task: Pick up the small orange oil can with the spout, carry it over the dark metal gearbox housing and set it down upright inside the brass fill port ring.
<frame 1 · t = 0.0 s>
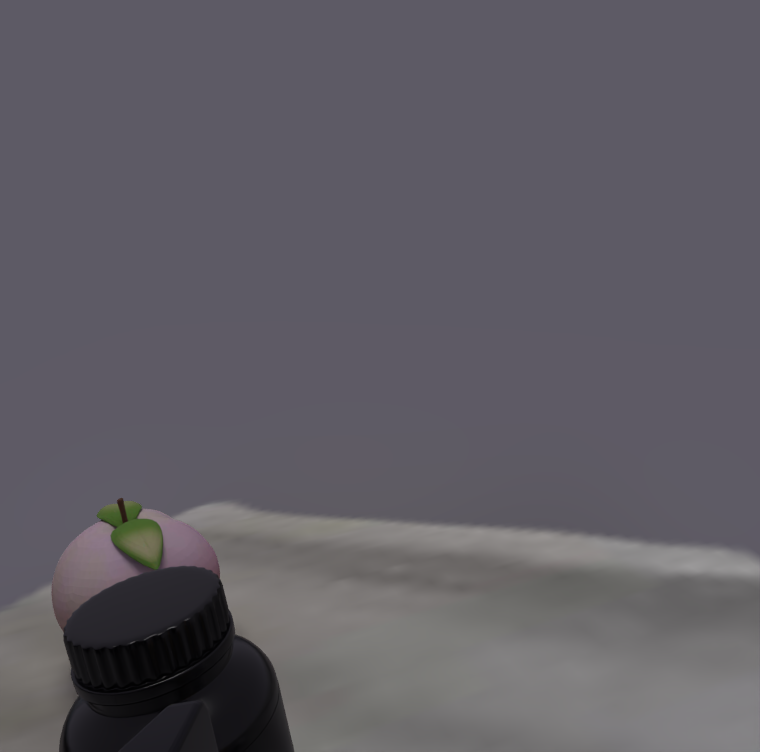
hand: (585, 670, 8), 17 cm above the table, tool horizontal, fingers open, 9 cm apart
decorative fruit: (156, 667, 40), on the table
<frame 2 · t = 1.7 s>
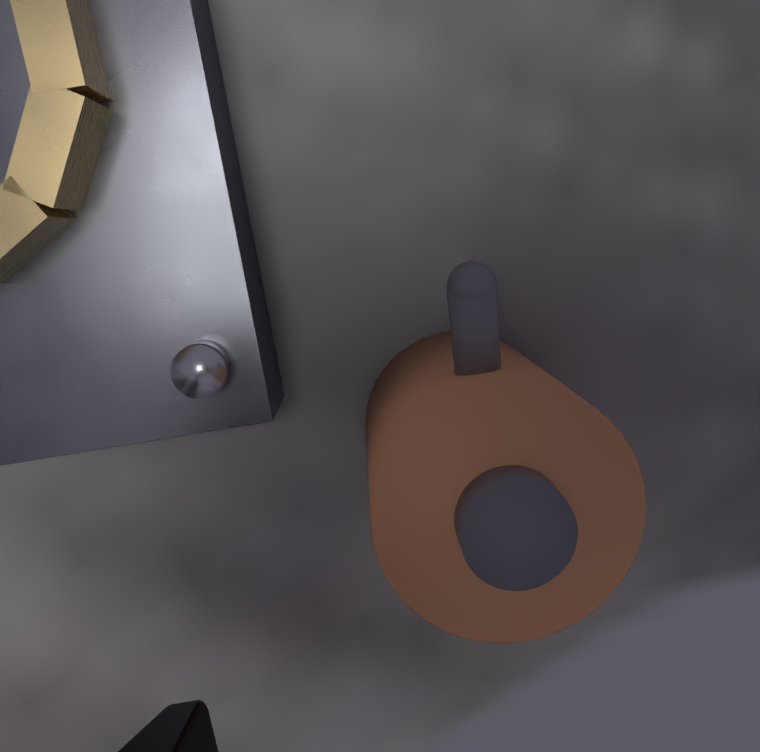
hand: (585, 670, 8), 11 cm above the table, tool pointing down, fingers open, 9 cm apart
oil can: (457, 422, 19), on the table
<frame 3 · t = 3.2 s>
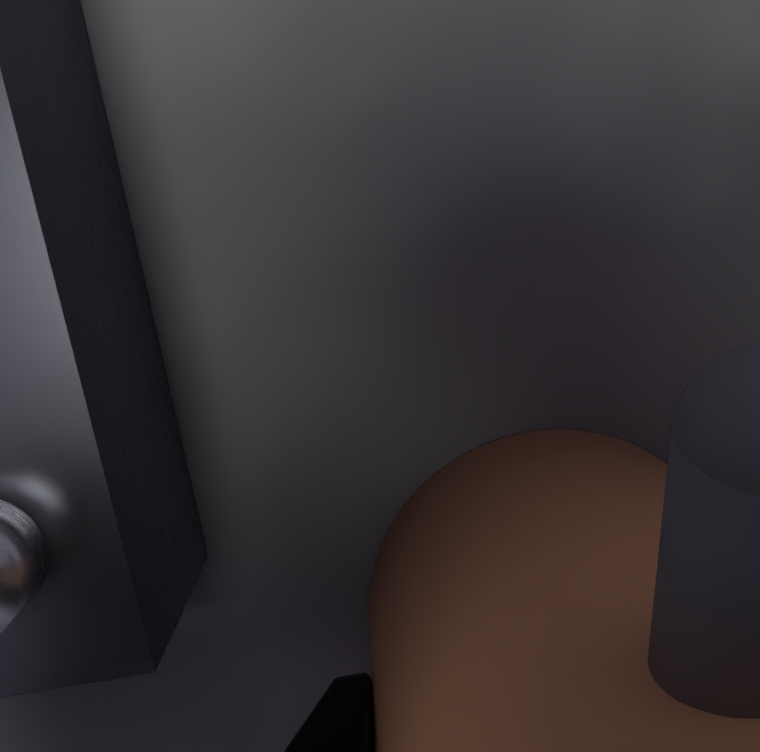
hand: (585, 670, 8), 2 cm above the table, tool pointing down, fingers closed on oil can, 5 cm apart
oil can: (548, 602, 10), on the table, touching gripper
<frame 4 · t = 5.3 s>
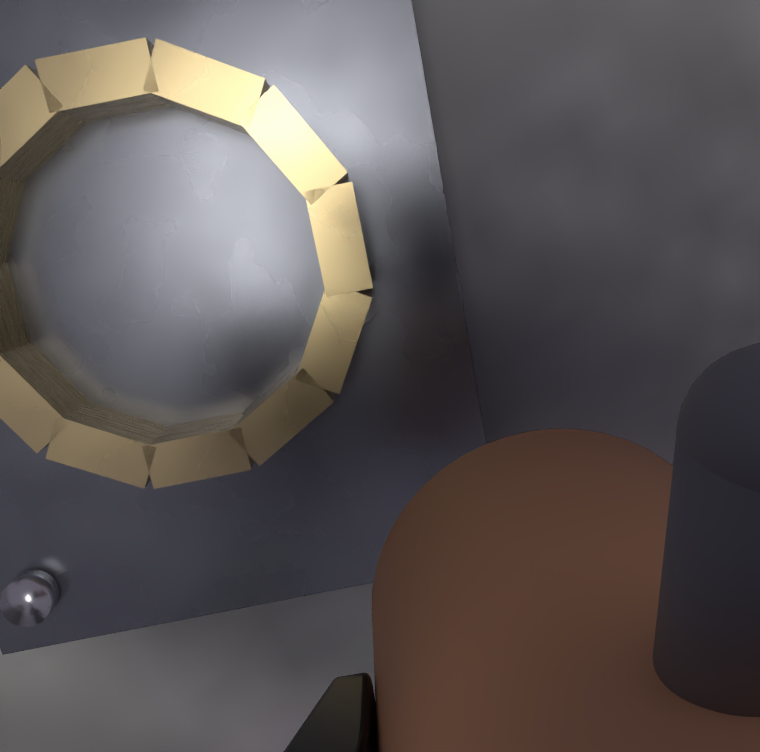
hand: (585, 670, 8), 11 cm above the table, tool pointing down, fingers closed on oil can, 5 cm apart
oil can: (551, 601, 10), point 10 cm above the table, touching gripper
gearbox housing: (193, 267, 18), on the table
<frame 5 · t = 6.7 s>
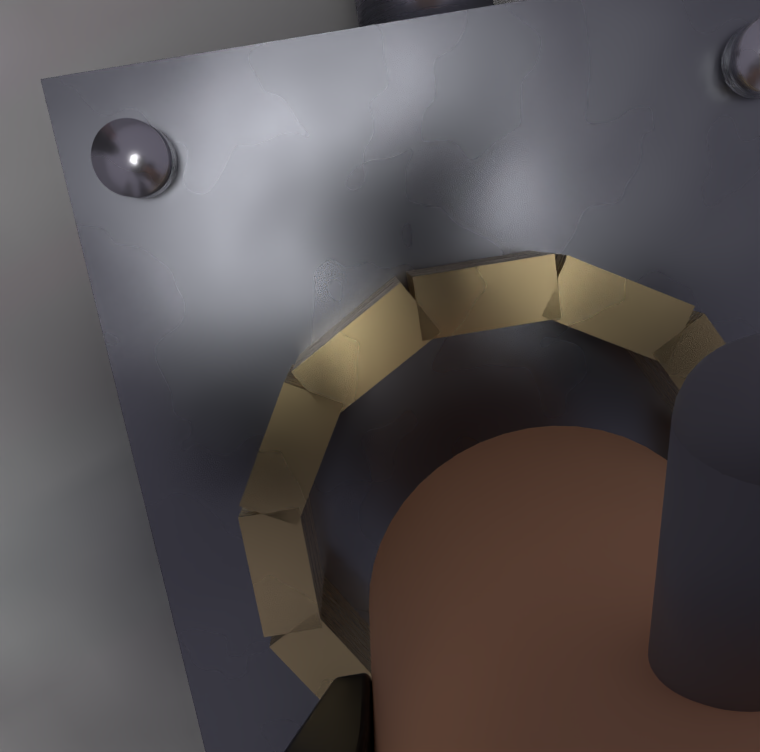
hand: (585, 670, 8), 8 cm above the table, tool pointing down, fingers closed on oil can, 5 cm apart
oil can: (548, 599, 10), point 6 cm above the table, touching gripper
gearbox housing: (477, 458, 16), on the table
when the fingers open (6 cm above the table, at t = 7.5 s): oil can drops 2 cm, resting on gearbox housing.
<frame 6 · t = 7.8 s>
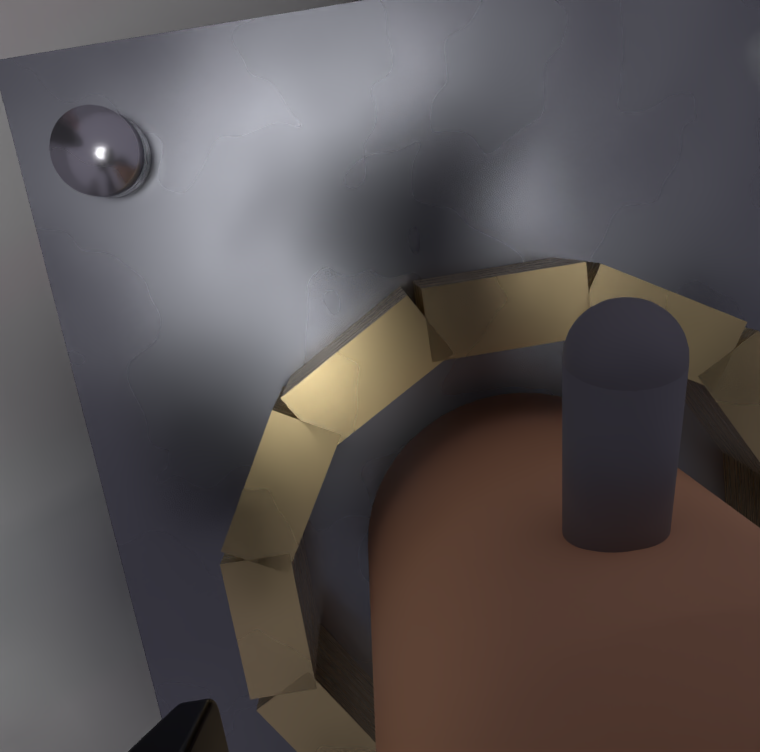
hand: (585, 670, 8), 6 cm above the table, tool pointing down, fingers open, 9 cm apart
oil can: (518, 539, 12), point 2 cm above the table, touching gearbox housing
gearbox housing: (489, 485, 14), on the table
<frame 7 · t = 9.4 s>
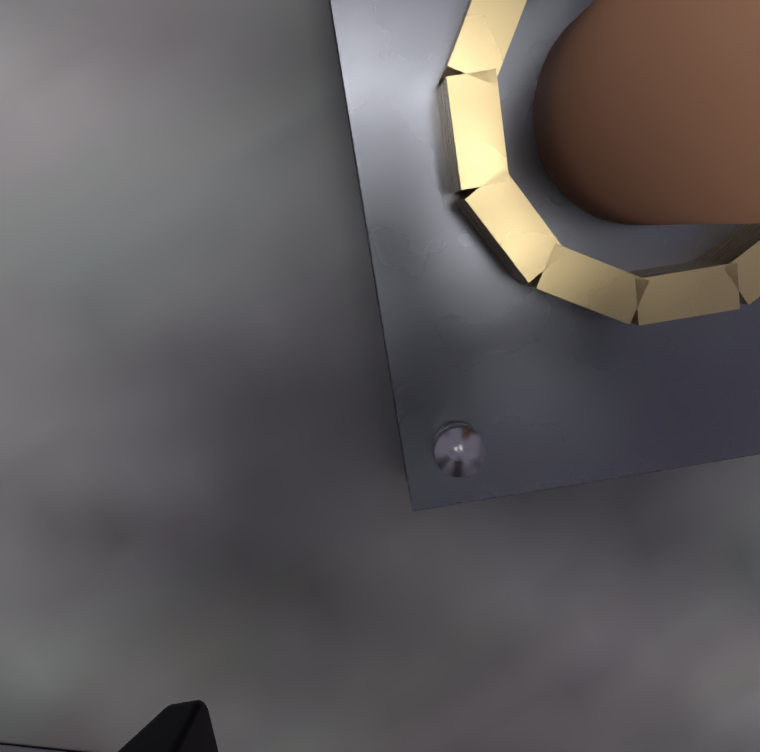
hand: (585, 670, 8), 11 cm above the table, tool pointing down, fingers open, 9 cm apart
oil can: (644, 110, 16), point 3 cm above the table, touching gearbox housing
gearbox housing: (604, 126, 18), on the table
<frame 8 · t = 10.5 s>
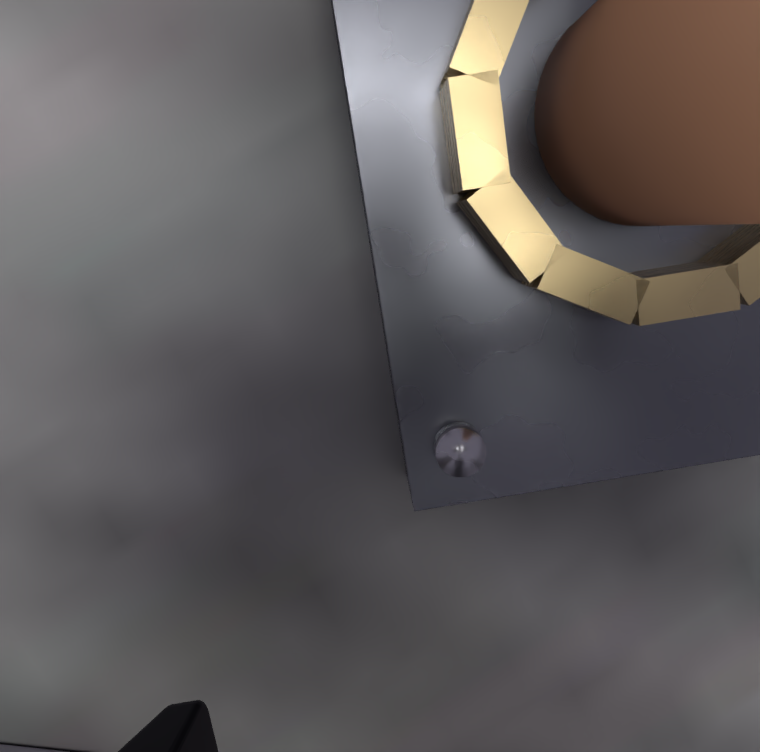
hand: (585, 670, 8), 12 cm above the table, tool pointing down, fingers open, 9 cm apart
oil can: (645, 111, 16), point 3 cm above the table, touching gearbox housing
gearbox housing: (605, 128, 18), on the table
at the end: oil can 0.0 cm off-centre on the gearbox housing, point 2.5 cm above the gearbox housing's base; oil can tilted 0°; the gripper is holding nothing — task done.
